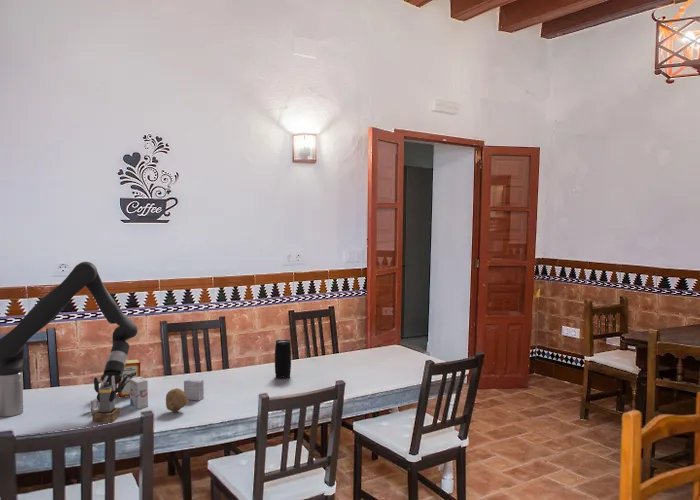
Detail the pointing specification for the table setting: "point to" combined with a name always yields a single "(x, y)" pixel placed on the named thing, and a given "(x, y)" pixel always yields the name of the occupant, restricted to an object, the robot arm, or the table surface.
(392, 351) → the table surface
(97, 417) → the open wooden box
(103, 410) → the gray square bottle
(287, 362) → the portable speaker
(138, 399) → the ink box
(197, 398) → the medicine box
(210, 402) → the table surface
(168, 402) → the natural sponge
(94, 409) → the clip
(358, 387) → the table surface
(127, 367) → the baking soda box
